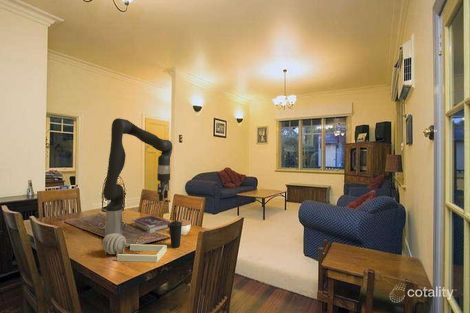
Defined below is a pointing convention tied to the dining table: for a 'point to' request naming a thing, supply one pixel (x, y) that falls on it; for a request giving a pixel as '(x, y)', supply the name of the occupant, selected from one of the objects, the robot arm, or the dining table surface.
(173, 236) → the drinking cup
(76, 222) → the dining table surface
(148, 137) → the robot arm
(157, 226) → the book
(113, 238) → the grey ridged rounded piece
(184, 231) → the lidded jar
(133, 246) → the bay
